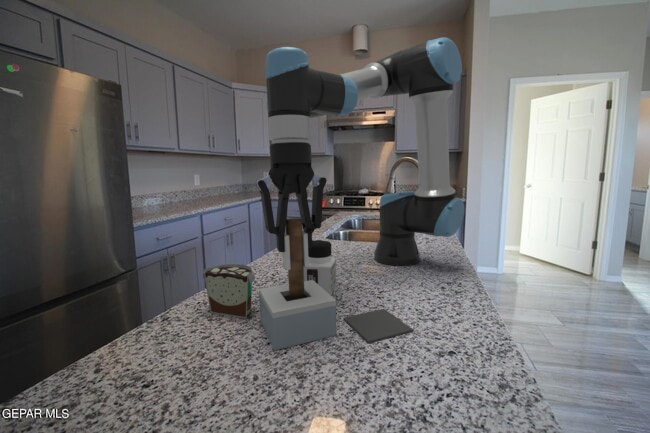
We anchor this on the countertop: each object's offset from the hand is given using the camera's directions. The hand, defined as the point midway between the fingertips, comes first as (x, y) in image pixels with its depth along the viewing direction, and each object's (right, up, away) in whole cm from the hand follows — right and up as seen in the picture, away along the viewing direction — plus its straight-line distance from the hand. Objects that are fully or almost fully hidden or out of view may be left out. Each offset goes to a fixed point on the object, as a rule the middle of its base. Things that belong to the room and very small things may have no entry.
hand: (295, 266), depth 61 cm
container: (+4, -10, +21) cm, 24 cm away
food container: (-14, -12, +10) cm, 21 cm away
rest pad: (+16, -12, +2) cm, 20 cm away
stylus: (0, -6, +1) cm, 6 cm away
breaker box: (0, -13, +2) cm, 13 cm away
